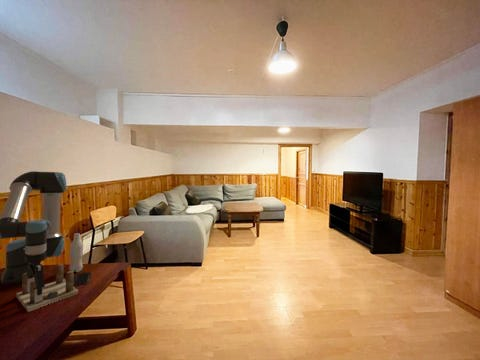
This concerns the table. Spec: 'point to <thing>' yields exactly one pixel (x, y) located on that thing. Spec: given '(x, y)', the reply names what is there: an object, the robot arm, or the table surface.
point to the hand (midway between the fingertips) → (34, 295)
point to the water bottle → (76, 253)
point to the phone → (82, 278)
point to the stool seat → (49, 289)
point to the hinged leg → (50, 295)
